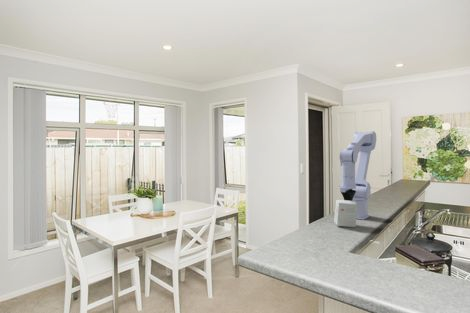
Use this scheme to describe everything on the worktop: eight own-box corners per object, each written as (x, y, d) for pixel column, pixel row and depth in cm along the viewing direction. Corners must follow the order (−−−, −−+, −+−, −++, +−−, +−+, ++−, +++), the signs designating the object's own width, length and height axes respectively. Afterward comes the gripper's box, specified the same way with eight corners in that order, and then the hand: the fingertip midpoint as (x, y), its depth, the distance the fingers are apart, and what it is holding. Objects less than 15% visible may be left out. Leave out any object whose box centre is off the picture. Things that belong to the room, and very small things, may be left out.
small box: (351, 223, 130) (354, 200, 129) (355, 227, 125) (358, 204, 124) (333, 221, 131) (335, 199, 130) (336, 226, 125) (338, 202, 124)
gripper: (345, 174, 139) (345, 202, 139) (333, 177, 128) (333, 207, 128) (360, 175, 134) (360, 204, 135) (349, 178, 123) (349, 209, 124)
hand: (348, 206), depth 131 cm, fingers closed
